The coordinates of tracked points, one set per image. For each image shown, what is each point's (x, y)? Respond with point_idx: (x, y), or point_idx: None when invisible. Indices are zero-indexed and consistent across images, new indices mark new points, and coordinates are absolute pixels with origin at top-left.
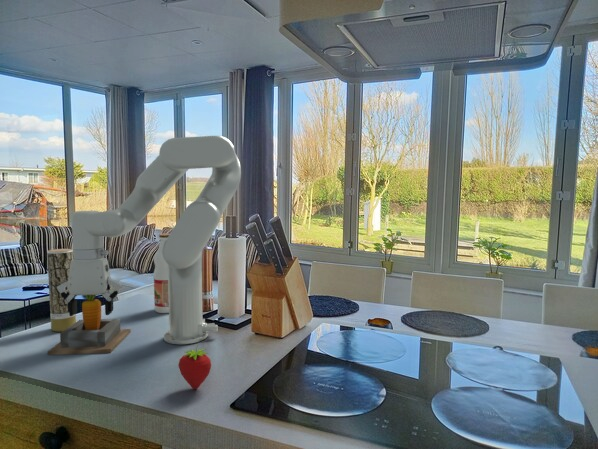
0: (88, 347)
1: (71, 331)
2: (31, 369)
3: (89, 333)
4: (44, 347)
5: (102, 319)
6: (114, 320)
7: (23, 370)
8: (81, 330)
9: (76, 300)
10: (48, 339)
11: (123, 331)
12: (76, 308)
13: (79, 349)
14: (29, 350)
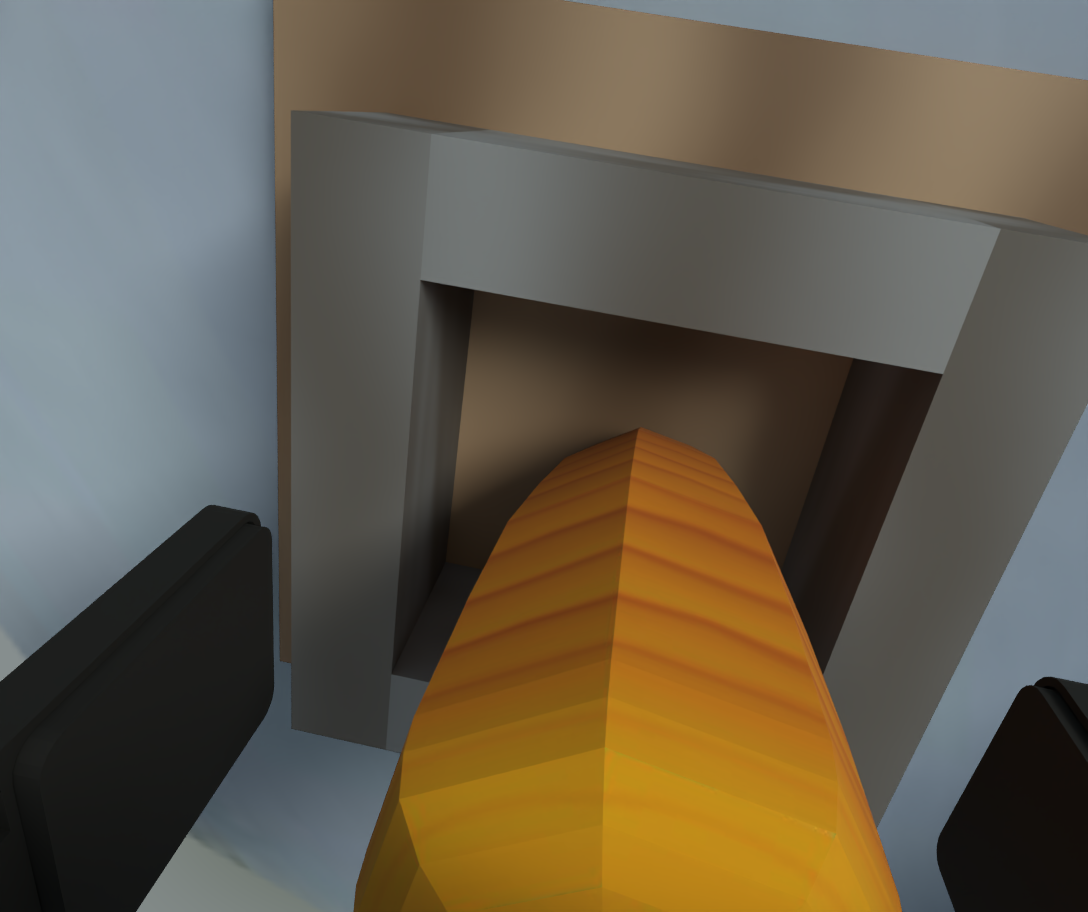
0: None
1: (408, 709)
2: (315, 848)
3: None
4: (153, 430)
5: (764, 213)
6: (1024, 362)
7: (269, 846)
8: None
9: (52, 769)
10: (35, 148)
11: (1073, 220)
12: (212, 610)
13: None
14: (55, 473)
